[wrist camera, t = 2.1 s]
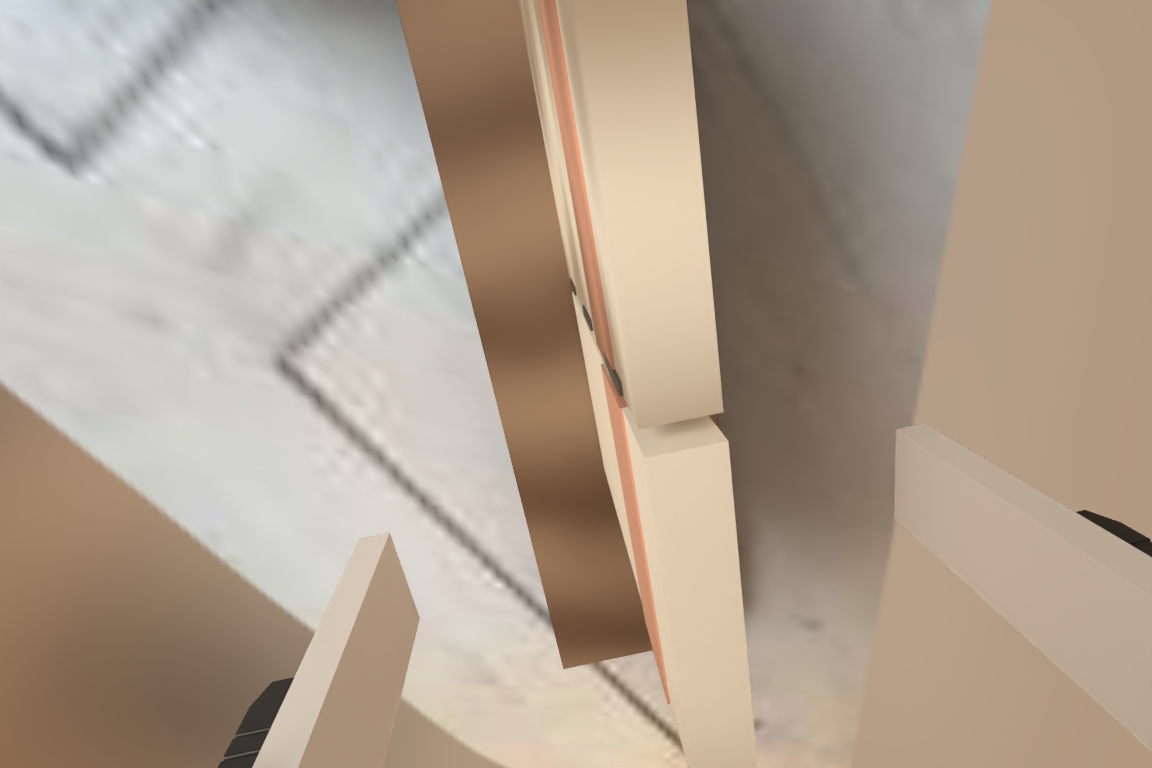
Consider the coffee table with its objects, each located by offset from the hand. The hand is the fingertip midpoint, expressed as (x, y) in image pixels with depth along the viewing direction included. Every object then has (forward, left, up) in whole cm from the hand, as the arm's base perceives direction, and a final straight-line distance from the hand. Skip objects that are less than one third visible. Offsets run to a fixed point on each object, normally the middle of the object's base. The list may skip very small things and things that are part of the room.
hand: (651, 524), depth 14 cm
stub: (-1, 0, -7) cm, 7 cm away
